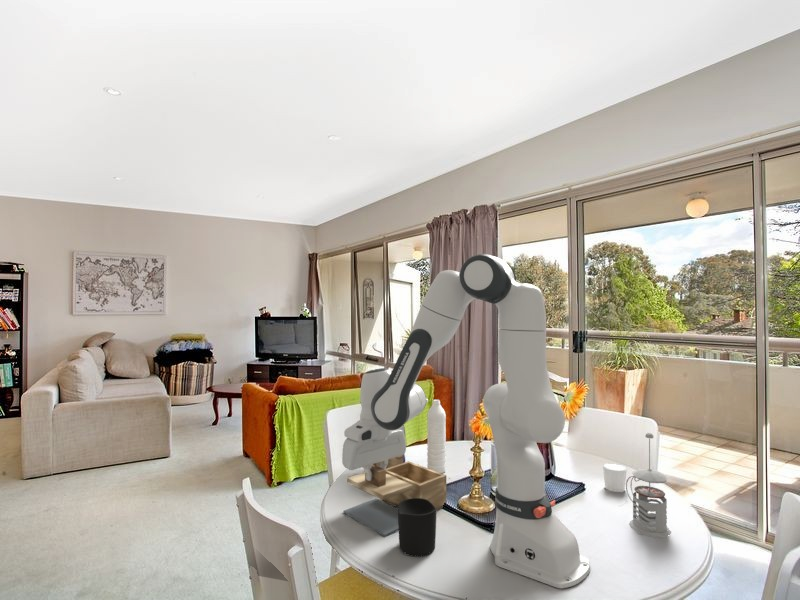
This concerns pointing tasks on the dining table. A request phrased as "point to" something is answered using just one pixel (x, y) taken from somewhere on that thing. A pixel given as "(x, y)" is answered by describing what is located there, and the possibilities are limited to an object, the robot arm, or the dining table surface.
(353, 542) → the dining table surface
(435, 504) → the wooden open box
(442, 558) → the dining table surface
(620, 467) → the white cup
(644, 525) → the french press
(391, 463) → the rail
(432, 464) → the water bottle
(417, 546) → the pen holder
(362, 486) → the lid
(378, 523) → the mat
